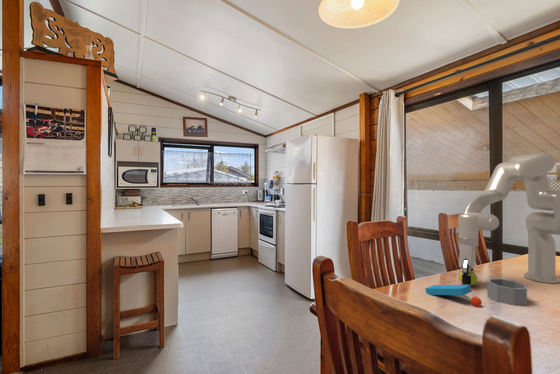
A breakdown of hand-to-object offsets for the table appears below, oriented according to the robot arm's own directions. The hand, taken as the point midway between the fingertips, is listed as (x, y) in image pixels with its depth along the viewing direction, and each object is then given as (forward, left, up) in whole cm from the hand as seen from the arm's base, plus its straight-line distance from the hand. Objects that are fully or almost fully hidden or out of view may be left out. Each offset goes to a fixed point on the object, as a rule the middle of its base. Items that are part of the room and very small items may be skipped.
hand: (468, 281), depth 126 cm
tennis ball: (0, 0, -2) cm, 2 cm away
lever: (+22, -1, -2) cm, 22 cm away
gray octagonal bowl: (+8, +14, -2) cm, 16 cm away
